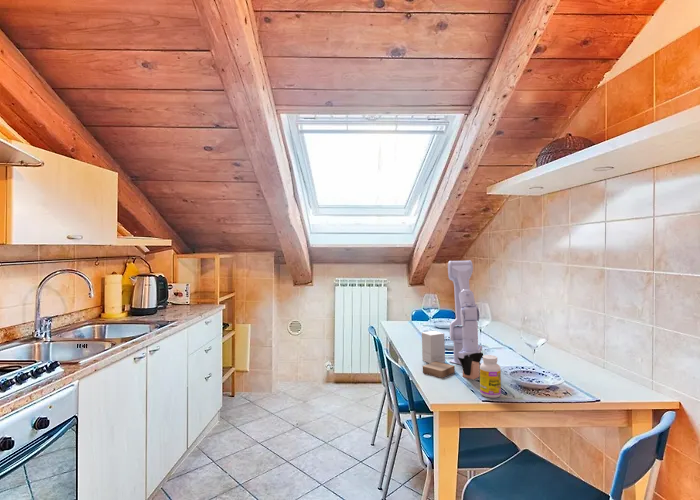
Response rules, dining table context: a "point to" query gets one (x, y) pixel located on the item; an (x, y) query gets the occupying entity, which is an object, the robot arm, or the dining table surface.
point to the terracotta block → (473, 371)
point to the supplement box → (433, 347)
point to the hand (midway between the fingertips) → (471, 372)
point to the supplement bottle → (490, 377)
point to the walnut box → (438, 369)
